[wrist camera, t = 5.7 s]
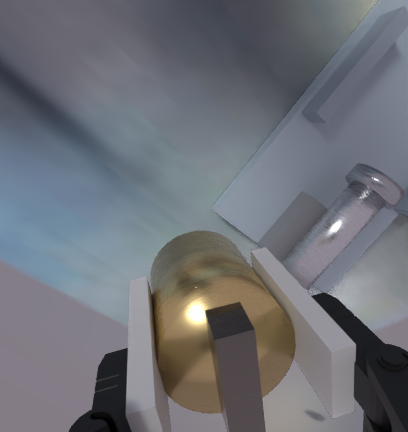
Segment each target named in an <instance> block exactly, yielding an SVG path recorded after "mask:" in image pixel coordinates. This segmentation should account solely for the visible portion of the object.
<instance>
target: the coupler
mask: <svg viewBox="0 0 408 432" xmlns="http://www.w3.org/2000/svg"><path fill="white" fill-rule="evenodd" d="M151 292H152V301H153V314H154V326H155V338H156V351H157V363H158V369H159V372H160V376H161V379H162V383H163V386H164V390H165V392H166V393H167V395H168V396H169V397H170V398H171V399H172V400H173V401H174V402H176V403H177V404H179V405H180V406H182V407H185V408H187V409H189V410H192V411H196V412H201V413H222V414H223V418H224V421H225V425H226V428H227V432H265V422H264V412H263V402H262V398H263V397H264V396H265V395H267V394H268V393H269V392H270V391H272V390H273V389H274V388H275V387H276V386H277V385H278V384H279V383H280V381H281V380H282V379H283V377H284V376H285V375H286V373H287V371H288V370H289V368H290V366H291V363H292V361H293V358H294V355H295V349H296V341H295V331H294V327H293V325H292V323H291V321H290V319H289V318H288V316H287V315H286V314H285V312H284V311H283V310H282V308H281V307H280V306H279V304H278V303H277V301H276V300H275V299H274V297H273V296H272V295H271V293H270V292H269V291H268V289H267V288H266V287H265V285H264V284H263V283H262V281H261V280H260V278H259V277H258V276H257V274H256V273H255V272H254V270H253V269H252V268H251V266H250V265H249V264H248V262H247V261H246V260H245V258H244V257H243V256H242V254H241V253H240V251H239V250H238V249H237V247H236V246H235V245H234V244H233V243H232V242H231V241H230V240H229V239H227V238H226V237H224V236H222V235H220V234H218V233H215V232H210V231H193V232H189V233H185V234H182V235H180V236H178V237H176V238H174V239H173V240H171V241H170V242H168V243H167V244H166V245H165V246H164V247H163V248H162V249H161V250H160V252H159V253H158V255H157V256H156V258H155V260H154V262H153V265H152V269H151Z"/></svg>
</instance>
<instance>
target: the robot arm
mask: <svg viewBox="0 0 408 432" xmlns="http://www.w3.org/2000/svg"><path fill="white" fill-rule="evenodd" d="M251 259H252V267H253V270H254V272H255V273H256V274H257V276H258V277H259V278H260V280H261V281H262V283H263V284H264V285H265V287H266V288H267V289H268V291H269V292H270V293H271V295H272V296H273V297H274V299H275V300H276V301H277V303H278V304H279V306H280V307H281V308H282V310H283V311H284V312H285V314H286V315H287V316H288V318H289V319H290V321H291V323H292V325H293V327H294V331H295V341H296V349H295V355H294V359H295V361H296V362H297V364H298V365H299V367H300V369H301V370H302V372H303V373H304V375H305V376H306V378H307V380H308V381H309V383H310V384H311V386H312V388H313V389H314V391H315V392H316V394H317V395H318V397H319V399H320V400H321V402H322V403H323V405H324V406H325V408H326V410H327V411H328V413H329V414H330V416H331V418H332V419H335V418H338V417H341V416H344V415H347V414H350V413H353V412H354V411H355V399H356V401H357V402H358V403H359V405H360V406H361V407H362V409H363V410H364V421H363V432H408V352H407V351H406V350H404V349H402V348H400V347H397V346H394V345H391V344H385V343H383V342H382V341H381V340H380V339H379V338H378V337H377V336H376V335H375V334H374V333H373V332H372V331H371V330H370V329H369V328H368V327H367V326H365V325H364V324H363V323H362V322H361V321H360V320H359V319H358V318H357V317H356V316H354V314H353V313H352V312H351V311H350V310H349V309H347V308H346V307H345V306H344V305H343V304H342V303H341V302H340V301H339V300H338V299H337V298H335V297H333V296H331V295H329V294H327V293H325V292H324V293H321V294H317V295H313V296H311V295H310V294H309V293H308V292H307V291H306V290H305V289H304V288H303V287H302V286H301V285H300V284H299V283H298V281H297V280H296V279H295V278H294V277H293V276H292V275H291V274H290V273H289V272H288V271H287V270H286V269H285V268H284V266H283V265H282V264H281V263H280V262H279V261H278V260H277V259H276V258H275V257H274V256H273V255H272V254H271V252H270V251H269V250H268V249H267V248H266V247H264V248H260V249H256V250H252V251H251ZM128 333H129V334H128V348H126V349H122V350H119V351H115V352H112V353H108V354H106V355H105V356H104V358H103V360H102V361H101V363H100V365H99V367H98V372H97V379H96V381H97V382H96V386H95V394H94V399H93V406H92V410H90V411H89V412H87V413H85V414H84V415H82V416H81V417H79V419H78V420H77V421H76V422H75V423H74V424H73V425H72V426H71V428H70V430H69V432H171V424H170V415H169V406H168V397H167V393H166V392H165V390H164V386H163V383H162V379H161V376H160V372H159V369H158V363H157V351H156V338H155V326H154V314H153V301H152V294H151V290H150V286H149V282H148V279H147V277H143V278H139V279H135V280H131V281H130V302H129V331H128Z"/></svg>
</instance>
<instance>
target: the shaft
mask: <svg viewBox="0 0 408 432" xmlns="http://www.w3.org/2000/svg"><path fill="white" fill-rule="evenodd" d="M345 179H346V181H347V182H348V183H349V185H348V186H347V187H346V188H345V190H344V191H343V192H342V193H341V194H340V195H339V196H338V198H337V199H336V200H335V201H334V202H333V203H332V204H331V206H330V207H329V208H328V209H327V210H326V211H325V212H324V214H323V215H322V216H321V217H320V218H319V219H318V221H317V222H316V223H315V224H314V225H313V226H312V227H311V229H310V230H309V231H308V232H307V233H306V234H305V235H304V237H303V238H302V239H301V240H300V241H299V242H298V243H297V245H296V246H295V247H294V248H293V249H292V250H291V251H290V253H289V254H288V255H287V256H286V257H285V258H284V259H283V261H282V262H281V264H282V265H283V266H284V268H285V269H286V270H287V271H288V272H289V273H290V274H291V275H292V276H293V277H294V278H295V279H296V280H297V281H298V283H299V284H300V285H302V286H303V287H305V288H306V289H308V290H309V289H310V288H311V287H312V286H313V284H314V283H315V282H316V281H317V280H318V279H319V278H320V277H321V276H322V274H323V273H324V272H325V271H326V270H327V269H328V268H329V267H330V266H331V265H332V263H333V262H334V261H335V260H336V259H337V258H338V257H339V256H340V255H341V253H342V252H343V251H344V250H345V249H346V248H347V247H348V246H349V245H350V243H351V242H352V241H353V240H354V239H355V238H356V237H357V236H358V235H359V234H360V232H361V231H362V230H363V229H364V228H365V227H366V226H367V225H368V224H369V222H370V221H371V220H372V219H373V218H374V217H375V216H376V215H377V214H378V213H379V211H380V210H381V209H382V208H386V209H390V210H392V209H394V208H395V207H396V205H397V204H398V203H399V202H400V201H401V200H402V199H403V198H404V197H405V192H404V190H403V189H402V188H401V187H400V186H399V185H398V184H397V183H396V182H395V181H394V180H393V179H391V178H390V177H389V176H387V175H386V174H384V173H383V172H381V171H379V170H377V169H375V168H373V167H371V166H369V165H366V164H362V163H358V164H356V165H355V166H354V167H353V168H352V170H351V171H350V172H349V173H348V174H347V175H346V177H345Z"/></svg>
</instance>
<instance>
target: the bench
mask: <svg viewBox="0 0 408 432" xmlns="http://www.w3.org/2000/svg"><path fill="white" fill-rule="evenodd" d="M358 163H362V164H366V165H369V166H371V167H373V168H375V169H377V170H379V171H381V172H383V173H384V174H386V175H387V176H389V177H390V178H391V179H393V180H394V181H395V182H396V183H397V184H398V185H399V186H400V187H401V188H402V189H403V190H404V192H405V197H404V198H403V199H402V200H401V201H400V202H399V203H398V204H397V205H396V207H395V208H394V209H392V210H390V209H386V208H382V209H381V210H380V211H379V213H378V214H377V215H376V216H375V217H374V218H373V219H372V220H371V221H370V222H369V224H368V225H367V226H366V227H365V228H364V229H363V230H362V231H361V232H360V234H359V235H358V236H357V237H356V238H355V239H354V240H353V241H352V242H351V243H350V245H349V246H348V247H347V248H346V249H345V250H344V251H343V252H342V253H341V255H340V256H339V257H338V258H337V259H336V260H335V261H334V262H333V263H332V265H331V266H330V267H329V268H328V269H327V270H326V271H325V272H324V273H323V274H322V276H321V277H320V278H319V279H318V280H317V281H316V282H315V283H314V284H313V285H314V286H315V287H316V288H318V289H319V290H320V291H322V292H323V293H324V292H325V293H327V292H328V291H329V290H330V289H331V288H332V287H333V286H334V285H335V284H336V283H337V282H338V280H339V279H340V278H341V277H342V276H343V275H344V274H345V273H346V272H347V271H348V270H349V268H350V267H351V266H352V265H353V264H354V263H355V262H356V261H357V260H358V259H359V258H360V256H361V255H362V254H363V253H364V252H365V251H366V250H367V249H368V248H369V247H370V246H371V244H372V243H373V242H374V241H375V240H376V239H377V238H378V237H379V236H380V235H381V234H382V232H383V231H384V230H385V229H386V228H387V227H388V226H389V225H390V224H391V223H392V222H393V220H394V219H395V218H396V217H397V216H398V215H399V214H403V215H405V216H408V0H378V2H377V3H376V4H375V5H374V7H373V8H372V9H371V10H370V12H369V13H368V14H367V15H366V16H365V18H364V19H363V20H362V21H361V23H360V24H359V25H358V26H357V28H356V29H355V30H354V31H353V33H352V34H351V35H350V36H349V38H348V39H347V40H346V41H345V42H344V44H343V45H342V46H341V47H340V49H339V50H338V51H337V52H336V54H335V55H334V56H333V57H332V59H331V60H330V61H329V62H328V64H327V65H326V66H325V67H324V68H323V70H322V71H321V72H320V73H319V75H318V76H317V77H316V78H315V80H314V81H313V82H312V83H311V85H310V86H309V87H308V88H307V90H306V91H305V92H304V93H303V95H302V96H301V97H300V98H299V99H298V101H297V102H296V103H295V104H294V106H293V107H292V108H291V109H290V111H289V112H288V113H287V114H286V116H285V117H284V118H283V119H282V121H281V122H280V123H279V124H278V125H277V127H276V128H275V129H274V130H273V132H272V133H271V134H270V135H269V137H268V138H267V139H266V140H265V142H264V143H263V144H262V145H261V147H260V148H259V149H258V150H257V151H256V153H255V154H254V155H253V156H252V158H251V159H250V160H249V161H248V163H247V164H246V165H245V166H244V168H243V169H242V170H241V171H240V173H239V174H238V175H237V176H236V178H235V179H234V180H233V181H232V182H231V184H230V185H229V186H228V187H227V189H226V190H225V191H224V192H223V194H222V195H221V196H220V197H219V199H218V200H217V201H216V202H215V204H214V205H213V206H212V209H213V210H214V211H215V212H216V213H217V214H218V215H220V216H221V217H222V218H224V219H225V220H226V221H228V222H229V223H230V224H232V225H233V226H234V227H236V228H237V229H238V230H240V231H241V232H242V233H244V234H245V235H246V236H248V237H249V238H250V239H252V240H253V241H255V242H256V243H257V244H258V245H259V246H260V247H261V248H264V247H266V248H267V249H268V250H269V251H270V252H271V254H272V255H273V256H274V257H275V258H276V259H277V260H278V261H279V262H280V263H281V262H282V261H283V259H284V258H285V257H286V256H287V255H288V254H289V253H290V251H291V250H292V249H293V248H294V247H295V246H296V245H297V243H298V242H299V241H300V240H301V239H302V238H303V237H304V235H305V234H306V233H307V232H308V231H309V230H310V229H311V227H312V226H313V225H314V224H315V223H316V222H317V221H318V219H319V218H320V217H321V216H322V215H323V214H324V212H325V211H326V210H327V209H328V208H329V207H330V206H331V204H332V203H333V202H334V201H335V200H336V199H337V198H338V196H339V195H340V194H341V193H342V192H343V191H344V190H345V188H346V187H347V186H348V185H349V183H348V182H347V181H346V179H345V177H346V175H347V174H348V173H349V172H350V171H351V170H352V168H353V167H354V166H355V165H356V164H358Z"/></svg>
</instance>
